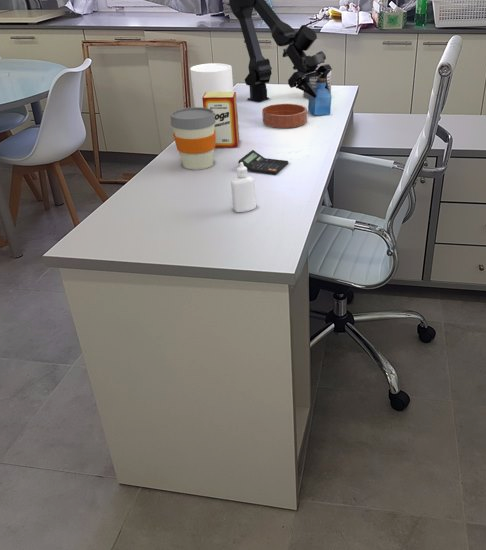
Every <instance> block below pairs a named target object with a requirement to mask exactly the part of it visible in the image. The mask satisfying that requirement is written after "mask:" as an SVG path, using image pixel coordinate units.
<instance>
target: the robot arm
mask: <svg viewBox="0 0 486 550" xmlns="http://www.w3.org/2000/svg"><path fill="white" fill-rule="evenodd" d="M228 4H229V7H230V10H231V13H232V14H233V15H234V16H235V18H236V19H237V20H238V22H239V25H240V29H241V32H242V36H243V39H244V43H245V48H246V50H247V53H248V58H249V61H248V68H247V69H248V74H247V76H246V77H245V78H244V83H245V85H246V86H249V97H248V98H247V101H252V102H257V103H261V102H264V101H267V100H270V97H268V88H267V84H268V83H269V84H270V82H271V81H270V80H271V76H272V75H273V73H272V72H273V71H272V69H273V68H272V66H271V61H270V59H269V58H265V57H264V56H263V53H262V49H261V46H260V42H259V39H258V34H257V31H256V28H255V25H254V21H253V20H254V19H253V11H255V12H256V13H257V15H259V17H260V18H261V19H262V21H263V22H264V23H265V25H266V26H267V27H268V28H269V30H270V33H271V38H272V39H273V41H274V42H275V44H276V45H277V46H278V47H286V46H287V48H283V49H282V50H283V51H282V58H287V57H288V59H289V60H290V62H291V63H292V65H293V66H292V69H293V70H294V72H293V73H292V74H291V75H290V77H289V78H288V79H287V83H288V86H289V88H290V89H293V88H295V89H298V90H300V91H302V92H303V93H304V92H306V93H308V94H309V95H311V96H313V97H314V98H316V97H317V95H316V93H315V91H314V89H313V87H312V85H311V84H310V80H309V78H312V77H315V78H316V79H317V78H324V79H326V80H325V82H326V86H325V88H326V89H328V91H329V87H328V82H327V75H328V73H329V72H330V71H331V72H332V70H333V68H332V67H331V65H330V64H328V63H326V64H324V63H325V60H326V59H327V55H326V54H325V53H324V51H323V50H321V51H318V52H316V54H313V55H310V54H309V55H307V54H306V51H308V50H309V49H310V48H311V46H313V44H314V43H315V41H317V39H318V36H317V33H316V31H315V30H313V29H312V28H311V27H310V26H309V27H308V26H307V25H306V24H301V26H300V27H299V29H298V31H296V30H295V29H294V28H293V27H292V26H290V24H289V23H286V22H284V21H283V20H281V19H280V17H279V16H278V15H277V14H276V12H275V11H274V10H273V9H272V7H271V6H270V5H269V4H268V2H267V0H228ZM318 65H321V66H320V67H319V68H318V69H317V70H316V71H315V69H316V68H317V67H318ZM295 70H296V71H295ZM316 82H317V81H316ZM329 93H330V91H329Z"/></svg>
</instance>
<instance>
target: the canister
mask: <svg viewBox="0 0 486 550" xmlns="http://www.w3.org/2000/svg"><path fill="white" fill-rule="evenodd" d="M232 67H233V66H232V65H230V64H227V63H219V62H218V63H217V62H216V63H215V62H211V63H202V64H195V65H193V66H191V67H190V68H189V71H190V79H191V80H190V81H191V87H192V97H193V107H202V108H203V100H202V97H203V96H204V94H205V92H216V91H220V92H234V81H233V79H234V78H233V68H232Z"/></svg>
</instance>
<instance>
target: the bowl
mask: <svg viewBox="0 0 486 550" xmlns="http://www.w3.org/2000/svg"><path fill="white" fill-rule="evenodd" d="M261 114H262V115H261V116H262V123H263V124H264V125H265V126H266V127H267V126H268V127H271V128H276V129H277V128H278V129H291V128H297V127H300V126H301V127H302V126H303V125H305V124H306V123H308V122H307V121H308V107H306V106H304V105H302V104H298V103H297V104H296V103H276V104H270V105H267V106H265V107H263V108H262V110H261Z"/></svg>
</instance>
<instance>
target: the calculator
mask: <svg viewBox="0 0 486 550" xmlns="http://www.w3.org/2000/svg"><path fill="white" fill-rule="evenodd" d="M240 162H243V164H244V166H245V167H247V171H250V172H251V173H257V174H265V175H272V176H276V175H278V174H279V173H280V172H281V171H282V170H284V168H285V167H286V166H287V165H289V161H288V160H284V159H276V158H269V157H268V158H266V157H264V156H263V155H261V154H260V153H258V152H257V151H255V150H253V149H252V150H250V151H249V152H248V153H247V154H246V155H244V156H243V157H241V158H240V159H239V160H238V162H237V163H238V164H239V165H240Z"/></svg>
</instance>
